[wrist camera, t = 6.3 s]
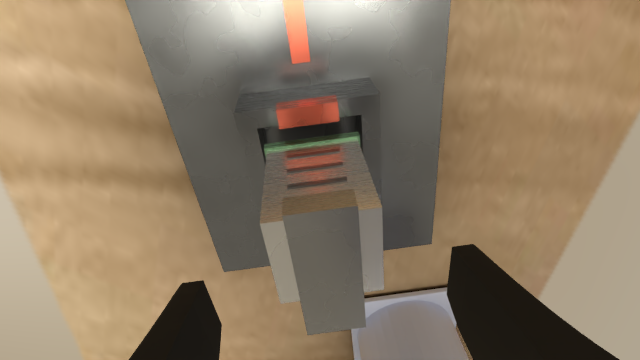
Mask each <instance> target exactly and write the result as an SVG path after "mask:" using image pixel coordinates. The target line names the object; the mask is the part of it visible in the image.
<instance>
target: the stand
mask: <svg viewBox="0 0 640 360" xmlns="http://www.w3.org/2000/svg"><path fill="white" fill-rule="evenodd" d="M125 1H126V4H127V7H128V10H129V12H130V15H131V18H132V21H133V23H134V26H135V29H136V32H137V34H138V37H139V40H140V43H141V45H142V48H143V51H144V54H145V56H146V59H147V62H148V65H149V67H150V70H151V73H152V75H153V78H154V81H155V84H156V86H157V89H158V92H159V95H160V97H161V100H162V103H163V106H164V108H165V111H166V114H167V117H168V119H169V122H170V125H171V128H172V130H173V133H174V136H175V139H176V141H177V144H178V147H179V150H180V152H181V155H182V158H183V161H184V163H185V166H186V169H187V172H188V174H189V177H190V180H191V183H192V185H193V188H194V191H195V194H196V196H197V199H198V202H199V205H200V207H201V210H202V213H203V215H204V218H205V221H206V224H207V226H208V229H209V232H210V235H211V237H212V240H213V243H214V246H215V248H216V251H217V254H218V257H219V259H220V262H221V265H222V268H223V270H224V272H227V271H235V270H242V269H250V268H257V267H264V266H271V265H270V261H269V257H268V253H267V250H266V246H265V242H264V238H263V234H262V230H261V226H260V217H261V206H262V196H263V186H264V175H265V165H266V156H265V152H264V144H268V143H276V142H283V141H291V140H298V139H306V138H313V137H321V136H328V135H336V134H343V133H350V132H358V133H359V135H360V147H361V150H362V153H363V155H364V158H365V161H366V164H367V167H368V169H369V172H370V175H371V178H372V180H373V183H374V186H375V189H376V191H377V194H378V197H379V200H380V203H381V205H382V219H383V250H390V249H398V248H405V247H412V246H420V245H427V244H432V233H433V220H434V207H435V194H436V181H437V168H438V156H439V143H440V130H441V117H442V104H443V91H444V79H445V66H446V53H447V40H448V27H449V14H450V2H451V0H125Z"/></svg>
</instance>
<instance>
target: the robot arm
mask: <svg viewBox="0 0 640 360" xmlns="http://www.w3.org/2000/svg"><path fill="white" fill-rule="evenodd" d="M364 302H365V317H366V327H364V328H357V329H351V334H352V343H353V353H354V360H469V359H468V356H467V354H466V352H465V349H464V347H463V345H462V343H461V340H460V338H459V336H458V333H457V331H456V323H457V326H458V328H459V331H460V333H461V335H462V337H463V339H464V341H465V343H466V345H467V347H468V349H469V352H470V354H471V356H472V358H473V360H619V359H618V358H616V357H615V356H613V355H612V354H610V353H609V352H607V351H606V350H604V349H603V348H601V347H600V346H598V345H597V344H595V343H594V342H593V341H591V340H590V339H588V338H587V337H586V336H584V335H583V334H581V333H580V332H579V331H577V330H576V329H575V328H573V327H572V326H571V325H569V324H568V323H567V322H566V321H564V320H563V319H562V318H560V317H559V316H558V315H556V314H555V313H554V312H552V311H551V310H550V309H549V308H547V307H546V306H545V305H544V304H543V303H541V302H540V301H539V300H538V299H536V298H535V297H534V296H533V295H532V294H530V293H529V292H528V291H527V290H526V289H524V288H523V287H522V286H521V285H520V284H518V283H517V282H516V281H515V280H514V279H513V278H511V277H510V276H509V275H508V274H507V273H506V272H505V271H503V270H502V269H501V268H500V267H499V266H498V265H497V264H495V263H494V262H493V261H492V260H491V259H490V258H489V257H488V256H486V255H485V254H484V253H483V252H482V251H481V250H480V249H479V248H477V247H476V246H475V245H474V244H470V245H463V246H456V247H452V253H451V261H450V270H449V278H448V287H446V288H438V289H431V290H423V291H416V292H409V293H401V294H394V295H387V296H379V297H372V298H364ZM221 326H222V325H221V322H220V320H219V317H218V315H217V312H216V310H215V308H214V305H213V303H212V300H211V298H210V296H209V293H208V291H207V288H206V286H205V284H204V281H195V282H188V283H182V284H181V285H180V287H179V288H178V290H177V291H176V292H175V294H174V295H173V297H172V298H171V300H170V301H169V303H168V304H167V306H166V307H165V309H164V310H163V312H162V313H161V315H160V316H159V318H158V319H157V321H156V322H155V324H154V325H153V326H152V328H151V329H150V331H149V332H148V334H147V335H146V336H145V338H144V339H143V341H142V342H141V343H140V345H139V346H138V348H137V349H136V350H135V352H134V353H133V355H132V356H131V357H130V359H129V360H219V353H220V341H221Z"/></svg>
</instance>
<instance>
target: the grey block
mask: <svg viewBox="0 0 640 360" xmlns="http://www.w3.org/2000/svg"><path fill="white" fill-rule="evenodd" d="M264 152H265V156H266V165H265V175H264V186H263V196H262V206H261V217H260V226H261V230H262V234H263V238H264V242H265V246H266V250H267V253H268V257H269V261H270V265H271V269H272V273H273V276H274V280H275V284H276V288H277V292H278V296H279V299H280V303H281V304H282V303H289V302H297V301H300V302H301V306H302V311H303V316H304V320H305V325H306V330H307V334H308V335H313V334H320V333H328V332H335V331H342V330H350V329H357V328H364V327H366V317H365V302H364V292H370V291H378V290H384V267H383V219H382V205H381V203H380V200H379V197H378V194H377V191H376V189H375V186H374V183H373V180H372V178H371V175H370V172H369V169H368V167H367V164H366V161H365V158H364V155H363V153H362V150H361V147H360V135H359V133H358V132H350V133H343V134H336V135H328V136H321V137H313V138H306V139H298V140H291V141H283V142H276V143H268V144H264Z"/></svg>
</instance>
